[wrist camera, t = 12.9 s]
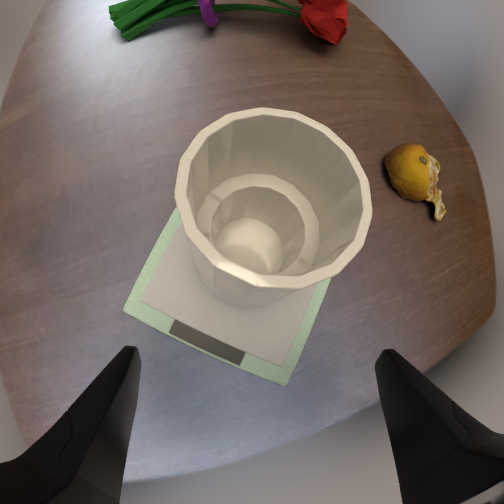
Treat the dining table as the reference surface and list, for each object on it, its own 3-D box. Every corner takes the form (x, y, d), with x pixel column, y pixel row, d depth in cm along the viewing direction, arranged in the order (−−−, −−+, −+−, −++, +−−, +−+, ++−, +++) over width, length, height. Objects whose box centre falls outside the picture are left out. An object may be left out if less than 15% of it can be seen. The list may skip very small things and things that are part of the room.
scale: (279, 381, 20) (288, 388, 17) (131, 312, 20) (119, 309, 17) (343, 219, 24) (357, 206, 21) (214, 158, 24) (214, 139, 21)
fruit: (445, 225, 25) (468, 213, 22) (383, 208, 25) (404, 191, 21) (435, 159, 27) (454, 144, 24) (377, 137, 27) (393, 117, 23)
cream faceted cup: (273, 324, 18) (336, 323, 9) (176, 278, 18) (136, 228, 9) (312, 232, 20) (386, 159, 10) (223, 190, 20) (233, 86, 10)
